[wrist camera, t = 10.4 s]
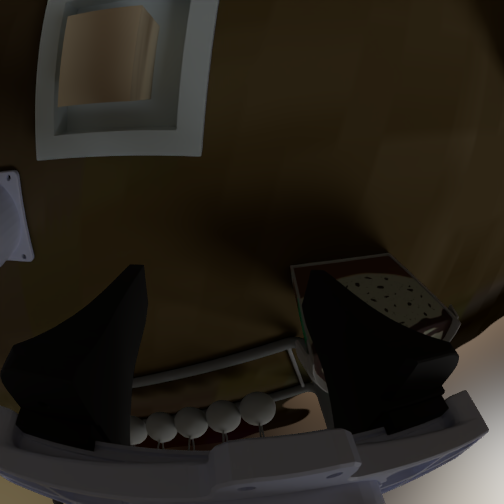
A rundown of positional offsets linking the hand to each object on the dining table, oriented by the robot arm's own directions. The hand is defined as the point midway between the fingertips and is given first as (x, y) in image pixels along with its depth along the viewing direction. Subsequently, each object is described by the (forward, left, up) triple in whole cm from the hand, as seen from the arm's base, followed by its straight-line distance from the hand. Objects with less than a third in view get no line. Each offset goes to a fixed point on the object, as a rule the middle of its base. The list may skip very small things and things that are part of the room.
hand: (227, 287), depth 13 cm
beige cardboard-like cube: (-7, +10, -9) cm, 15 cm away
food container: (+11, -7, -10) cm, 16 cm away
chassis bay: (-7, +10, -9) cm, 15 cm away
